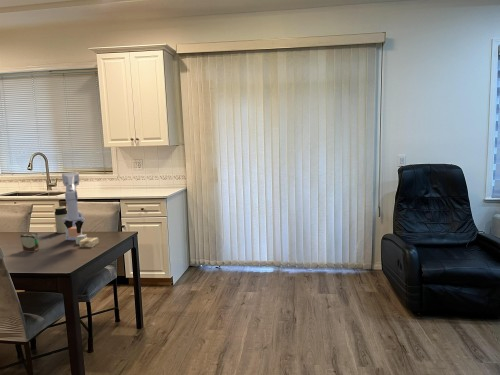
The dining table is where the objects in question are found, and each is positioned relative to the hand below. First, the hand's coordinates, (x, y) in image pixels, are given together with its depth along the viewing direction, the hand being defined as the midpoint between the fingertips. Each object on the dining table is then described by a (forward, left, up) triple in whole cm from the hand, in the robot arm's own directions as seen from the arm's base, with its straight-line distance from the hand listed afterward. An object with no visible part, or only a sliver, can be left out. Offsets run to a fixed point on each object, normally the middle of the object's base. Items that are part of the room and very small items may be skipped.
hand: (74, 232), depth 222 cm
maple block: (+6, +4, -9) cm, 12 cm away
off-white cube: (-2, +8, -9) cm, 13 cm away
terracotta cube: (0, 0, -2) cm, 2 cm away
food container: (-23, -8, -9) cm, 26 cm away
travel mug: (-34, +33, -9) cm, 49 cm away
